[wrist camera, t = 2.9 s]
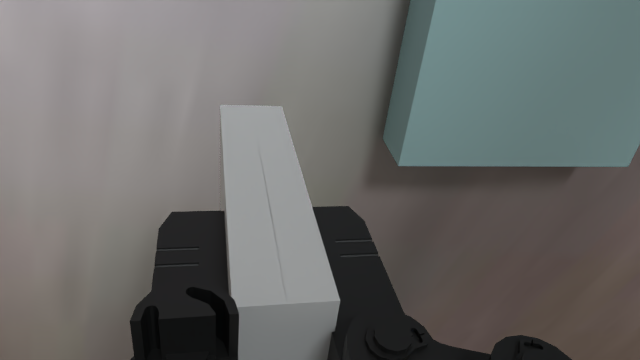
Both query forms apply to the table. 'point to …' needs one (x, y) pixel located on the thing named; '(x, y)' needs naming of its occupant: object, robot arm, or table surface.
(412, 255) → the table surface
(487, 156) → the teal square tile
